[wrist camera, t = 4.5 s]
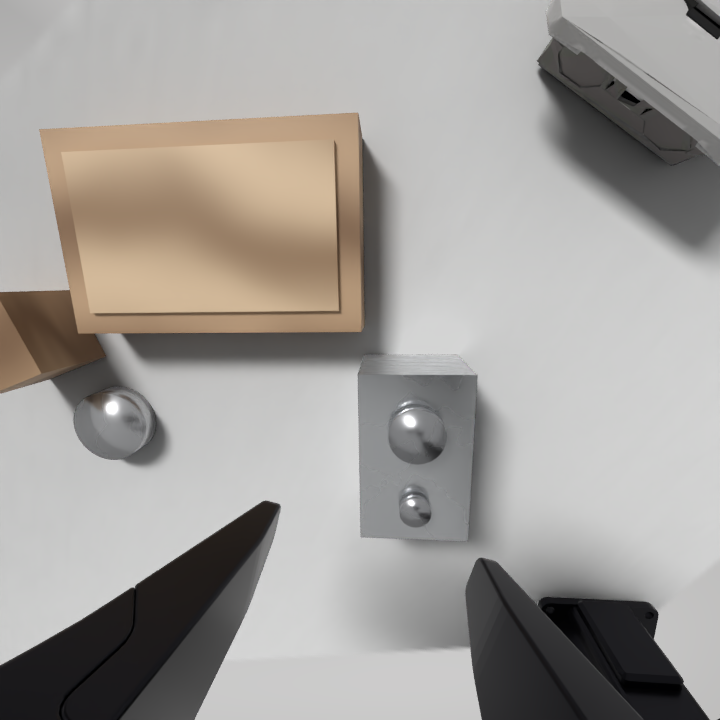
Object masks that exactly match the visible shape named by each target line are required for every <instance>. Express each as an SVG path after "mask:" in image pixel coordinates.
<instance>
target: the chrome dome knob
mask: <svg viewBox="0 0 720 720" xmlns="http://www.w3.org/2000/svg"><path fill="white" fill-rule="evenodd" d="M74 427H75V431H76V434H77V436H78V438H79V439H80V441H81V442H82V444H83V445H84V446H85V447H86V448H87V449H88V450H89V451H91V452H92V453H94V454H95V455H97V456H99V457H102V458H105V459H110V460H118V459H123V458H126V457H128V456H130V455H131V454H133V453H134V452H136V451H137V450H139V449H140V448H142V447H143V446H145V445H146V444H147V443H148V442H149V441H150V440H151V439H152V438H153V436H154V433H155V430H156V417H155V413H154V411H153V409H152V407H151V405H150V404H149V402H148V401H147V400H146V399H145V398H144V397H143V396H142V395H141V394H139V393H138V392H136V391H134V390H132V389H130V388H126V387H111V388H108V389H105V390H103V391H100V392H98V393H95V394H92V395H90V396H88V397H86V398H84V399H83V400H82V401H81V402H80V403H79V404H78V406H77V408H76V410H75V413H74Z"/></svg>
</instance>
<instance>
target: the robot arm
mask: <svg viewBox="0 0 720 720" xmlns="http://www.w3.org/2000/svg"><path fill="white" fill-rule="evenodd" d="M280 509H281V506H280V504H277V503H274V502H270V501H263V502H261V503H259V504H258V505H256V506H255V507H253V508H252V509H250V510H249V511H247V512H246V513H244V514H243V515H241V516H240V517H238V518H237V519H235V520H234V521H232V522H231V523H229V524H228V525H226V526H225V527H223V528H221V529H220V530H218V531H217V532H215V533H214V534H212V535H211V536H209V537H208V538H206V539H205V540H203V541H202V542H200V543H199V544H197V545H196V546H194V547H193V548H191V549H190V550H188V551H187V552H185V553H184V554H182V555H181V556H179V557H177V558H176V559H174V560H173V561H171V562H170V563H168V564H167V565H165V566H164V567H162V568H161V569H159V570H158V571H156V572H155V573H153V574H152V575H150V576H149V577H147V578H146V579H144V580H143V581H141V582H140V583H138V584H137V585H136V586H135V588H130V589H129V590H127V591H126V592H124V593H123V594H121V595H119V596H118V597H116V598H115V599H113V600H112V601H110V602H109V603H107V604H105V605H104V606H102V607H101V608H99V609H98V610H96V611H94V612H93V613H91V614H90V615H88V616H86V617H85V618H83V619H82V620H80V621H78V622H77V623H75V624H73V625H71V626H70V627H68V628H66V629H64V630H63V631H61V632H59V633H57V634H56V635H54V636H52V637H51V638H49V639H47V640H45V641H44V642H42V643H40V644H38V645H37V646H35V647H33V648H31V649H29V650H27V651H26V652H24V653H22V654H20V655H18V656H17V657H15V658H13V659H11V660H9V661H8V662H6V663H4V664H2V665H0V720H194V719H195V717H196V715H197V713H198V711H199V709H200V707H201V705H202V703H203V700H204V699H205V697H206V695H207V692H208V690H209V688H210V686H211V684H212V682H213V680H214V678H215V676H216V674H217V672H218V670H219V668H220V666H221V664H222V662H223V660H224V658H225V656H226V654H227V652H228V650H229V648H230V645H231V643H232V641H233V639H234V637H235V635H236V633H237V631H238V629H239V627H240V625H241V623H242V621H243V619H244V616H245V614H246V612H247V610H248V607H249V605H250V602H251V600H252V597H253V594H254V592H255V589H256V586H257V583H258V581H259V578H260V575H261V572H262V570H263V567H264V564H265V561H266V559H267V556H268V553H269V550H270V548H271V545H272V542H273V539H274V535H275V531H276V527H277V523H278V518H279V514H280ZM466 606H467V616H468V626H469V637H470V647H471V657H472V666H473V673H474V679H475V685H476V691H477V696H478V701H479V706H480V712H481V717H482V720H709V718H708V717H707V715H706V714H705V713H704V711H703V710H702V709H701V707H700V706H699V704H698V703H697V702H696V700H695V699H694V698H693V696H692V695H691V694H690V692H689V691H688V690H687V688H686V687H685V686H684V684H683V682H684V681H683V679H682V677H681V676H680V674H679V673H678V672H677V670H676V669H675V668H674V666H673V665H672V664H671V662H670V661H669V660H668V658H667V657H666V655H665V654H664V653H663V652H662V650H661V649H660V648H659V646H658V645H657V643H656V642H655V641H654V635H655V630H656V625H657V620H658V612H657V610H656V609H655V608H654V607H653V606H652V604H650V603H648V602H634V601H614V600H594V599H574V598H554V597H545V598H543V599H541V600H540V601H539V603H538V606H537V605H536V604H535V602H534V601H533V600H532V599H531V598H530V597H529V596H528V595H527V594H526V593H525V592H524V591H523V590H522V588H521V587H520V586H519V585H518V584H517V583H516V582H515V581H514V580H513V579H512V578H511V577H510V576H509V575H508V573H507V572H506V571H505V570H504V569H503V568H502V567H501V566H500V565H499V564H498V563H497V562H495V561H492V560H488V559H485V558H479V559H478V560H477V561H476V563H475V565H474V568H473V570H472V573H471V575H470V578H469V580H468V582H467V586H466ZM547 607H548V608H547ZM718 720H720V719H718Z"/></svg>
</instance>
